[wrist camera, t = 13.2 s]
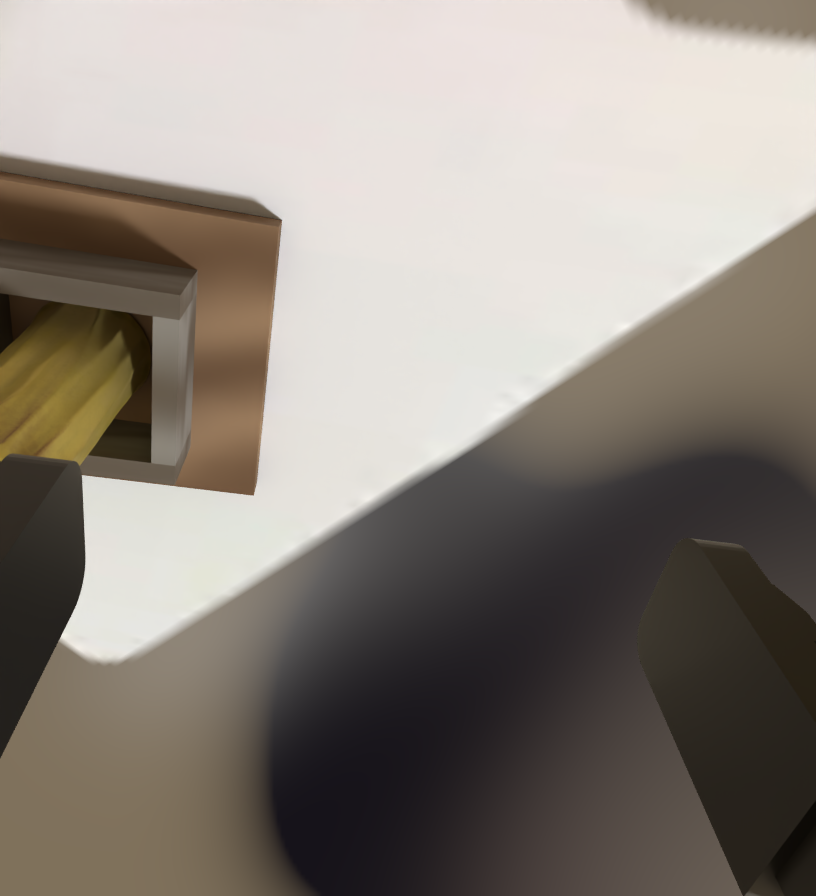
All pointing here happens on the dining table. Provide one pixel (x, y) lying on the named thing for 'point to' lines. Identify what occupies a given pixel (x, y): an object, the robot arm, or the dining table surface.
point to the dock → (155, 319)
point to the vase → (68, 380)
